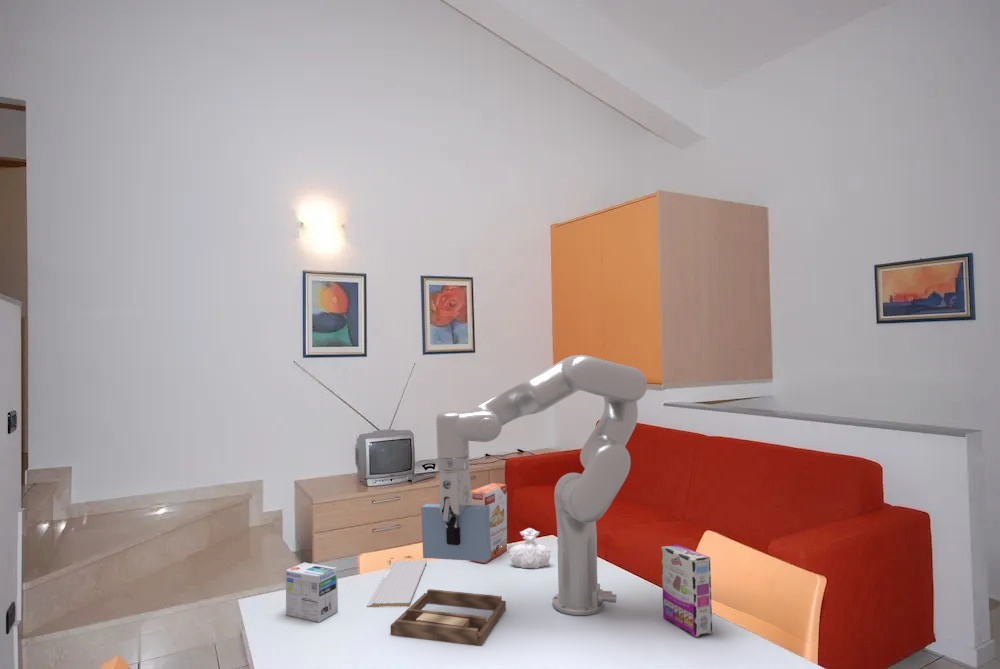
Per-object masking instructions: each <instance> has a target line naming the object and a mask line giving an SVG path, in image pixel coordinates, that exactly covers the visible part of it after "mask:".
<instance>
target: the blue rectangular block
mask: <svg viewBox="0 0 1000 669" xmlns="http://www.w3.org/2000/svg"><path fill="white" fill-rule="evenodd" d="M420 510H421V533H422V534H421V536H422V538H421V540H422V559H436V560H454V561H468V562H469V561H470V562H474V561H486V562H487V561H488V560H489V559H490V558H491V541H490V516H489V506H482V505H468V506H467V507H465V508H464V513H463V514H461V515H460V516H458V527H460V544H459V545H448V544H447V536H446V523H445V522H444V521H443V515H442V514H441V512H440V503H425V504H424V505H422V506H421V508H420ZM450 513H451V514H454V513H453V512H452V511H451V512H450ZM451 518H453V519H454V517H451ZM487 563H488V562H487Z"/></svg>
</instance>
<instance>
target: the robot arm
mask: <svg viewBox="0 0 1000 669" xmlns="http://www.w3.org/2000/svg"><path fill="white" fill-rule="evenodd" d="M647 390H648V382H647V378H646V376H645V374H644V373H643V372H642V371H641V370H639V369H638V368H636V367H633V366H629V365H625V364H621V363H616V362H614V361H609V360H606V359H603V358H602V359H601V358H598V357H594V356H590V355H586V354H579V355H578V354H577V355H570V356H568V357H566V358H564V359H561V360H560V361H558V362H556V363H554V364H553V365H551V366H549V367H547V368H546V369H543V370H542V371H540V372H538V373H537V374H534V375H533V376H531V377H529V378H528V379H525V380H524V381H523V382H520V383H519V384H518V383H517V384H516V385H515V386H513V387H511V388H510V389H507V390H506V391H502V392H501V393H500V394H497V395H496V396H494V397H491V398H490V399H488V400H486V401H485V402H483V403H481V404H479V405H478V406H476V407H474V408H473V409H471V411H469V412H465V411H462V410H461V411H460V410H452V411H451V410H450V411H449V410H447V411H441V412H439V413H438V414H437V416H436V421H435V422H436V426H435V427H436V447H437V448H436V449H437V453H436V454H437V472H439V500H438V501H439V504H440V512H441V514H442V515H443V521H444V522H445V523H446V536H447V544H448V545H459V544H460V527H458V516H460V515H461V514H463V513H464V508H465V507H467V506H468V505H472V494H471V491H472V484H471V475H470V467H471V466H470V447H469V446H470V443H469V442H477V443H479V442H480V443H488V442H489V443H490V442H492V441H494V440H496V439H497V438H498V437H499V436H500V434H501V432H502V428H503V426H504V425H506V424H508V423H510V422H512V421H515V420H516V419H519V418H522V417H524V416H529V415H535V414H538V413H541V412H544V411H546V410H548V409H549V408H551V407H553V406H555V405H556V404H558V403H559V402H561V401H563V400H564V399H566V398H568V397H570V396H571V395H573V394H575V393H577V392H579V391H583V392H584V393H585V392H586V393H589V394H593V395H596V396H599V397H603V401H604V407H603V412H602V414H601V416H600V419H599V420H598V422H597V424H596V426H595V427H594V429H593V431H592V432H591V434H590V435H589V437H588V438H587V440H586V442H585V443H584V444H583V446H582V448H581V451H580V452H579V453H580V455H579V460H580V463H581V466H583V468H584V470H583V472H581V473H578V472H569V473H566V474H564V475H563V476H561V477H560V478H559V479H558V481H557V482H556V485H555V487H554V493H553V494H554V495H553V497H554V499H553V500H554V507H555V514H556V528H557V529H556V532H557V533H556V534H557V535H556V536H557V537H556V538H557V539H556V541H557V542H556V543H557V580H558V581H557V583H558V585H557V587H558V591H557V592H558V593H557V594H555V595H554V596H553V597H552V603H551V604H552V606H553V608H554V609H556V610H557V611H559V612H561V613H564V614H567V615H572V616H573V615H574V616H589V615H594V614H597V613H599V612H601V611H602V610H603V609H604V608H605V603H606V602H607V603H612V604H615V603H617V594H616V593H615V594H614V593H613V591H612V590H603V588H602V589H601V583H599V582H598V551H597V550H598V549H597V548H598V546H597V545H598V543H597V539H598V538H597V537H598V534H597V533H598V532H597V524H596V523H597V521H598V520H600V519H601V518H602V517H603V516H604V515H605V513H606V512H607V510H608V509H609V507H610V506H611V505H612V502H613V501H614V499H615V498H616V496H617V495H618V493H619V491H620V489H622V488H621V487H622V486H623V484H624V482H625V481H626V478H627V477H628V475H629V473H630V469H631V464H632V462H631V456H630V452H629V451H628V449H627V448H626V446H627V445H628V444H627V443H628V442H629V440H630V438H631V436H632V434H633V432H634V430H635V428H636V425H637V422H638V416H639V415H638V414H639V411H638V410H639V409H638V401H640V400H641V399H642V398H643V397H644V396H645V395H646V392H647ZM451 511H452V512H453V513H454V514H451V513H450V512H451ZM451 517H454V519H453V518H451Z"/></svg>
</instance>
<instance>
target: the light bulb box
mask: <svg viewBox="0 0 1000 669" xmlns="http://www.w3.org/2000/svg"><path fill="white" fill-rule="evenodd" d="M338 584H339V583H338V567H336V566H329V565H323V564H321V565H320V564H316V563H310V562H302V563H300V564H298V565H295V566H293V567H290V568H288V569H286V570H285V615H286V616H289V617H290V616H291V617H295V618H299V619H303V620H308V621H313V622H317V623H321V622H322V621H324V620H326V619H327V618H330V617H331V616H333V615H334V614H336V613H338V612H339V598H338V597H339V593H338Z"/></svg>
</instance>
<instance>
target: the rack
mask: <svg viewBox="0 0 1000 669" xmlns="http://www.w3.org/2000/svg"><path fill="white" fill-rule="evenodd" d="M433 603H435V604H434V605H436V604H437V605H442V606H443V605H446V606H453V607H454V606H455V607H461V608H462V607H464V608H473V609H474V608H475V609H482V610H492V611H493V612H492V613H491V614H490V616H489V617H487V616H481V615H473V614H472V615H470V614H465V613H453V612H445V611H444V612H443V611H436V610H435V611H434V610H425V609H423V608H424V607H425V606H426V605H427V604H433ZM506 603H507V602H506V600H503V598H502V595H493V594H483V593H471V592H462V591H451V590H440V589H432V588H429V589H427V591H426V592H424V593H423V594H422V595H420V597H419V598H418V599H417V600H415V602H414V603H412V605H410V606H409V607H407V609H406V610H405V611H404V612H403V613H402V614H401V615H400V616H399V617H397V618H396V619H395V620H394V621H393V622H392V624H390V625H389V626H390V629H389V630H390V635H391V636H398V637H407V638H413V639H414V638H415V639H423V640H430V641H437V642H438V641H439V642H448V643H453V644H454V643H457V644H463V645H471V646H482V645H483V644H484V642H485V641H486V639H487V638H488V636H489V635H490V634H491V632H492V631H493V630H494V627H496V625H497V624H498V622H499V620H500V618H501V617H502V616H503V614H504V612H506V610H507V608H506V607H507V604H506ZM423 613H430V614H437V615H444V616H451V617H458V618H466V619H469V625H468V626H467V627H459V626H450V625H441V624H433V623H424V622H416V619H417V618H418V617H419V616H420V615H422V614H423Z"/></svg>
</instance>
